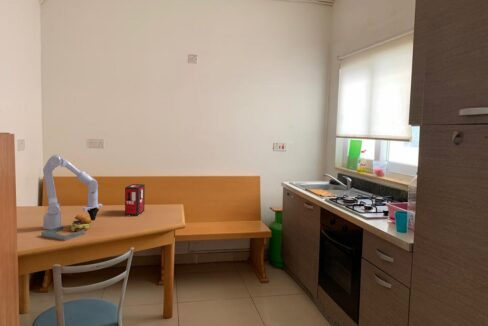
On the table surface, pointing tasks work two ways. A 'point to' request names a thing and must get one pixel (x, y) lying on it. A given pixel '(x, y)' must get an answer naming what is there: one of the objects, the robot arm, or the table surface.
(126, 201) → the cleaning product box
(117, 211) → the table surface
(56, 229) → the rack
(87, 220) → the cheeseburger
